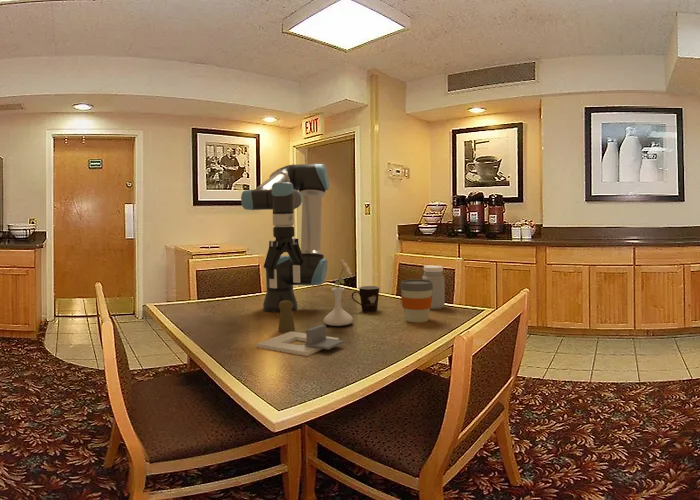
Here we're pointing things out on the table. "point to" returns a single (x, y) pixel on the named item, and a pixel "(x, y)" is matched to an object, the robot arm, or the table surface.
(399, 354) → the table surface
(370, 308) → the coffee mug
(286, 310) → the olive brown pawn
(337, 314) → the flower in vase
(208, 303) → the table surface
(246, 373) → the table surface
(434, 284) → the jar
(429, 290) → the reusable coffee cup
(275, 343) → the socket plate
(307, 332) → the grey bookend
